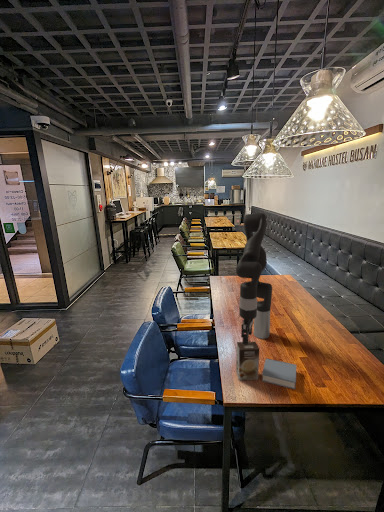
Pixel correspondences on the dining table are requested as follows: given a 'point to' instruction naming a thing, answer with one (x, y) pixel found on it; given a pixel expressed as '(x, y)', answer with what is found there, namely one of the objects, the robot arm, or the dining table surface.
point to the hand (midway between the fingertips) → (247, 339)
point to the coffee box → (247, 361)
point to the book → (279, 373)
